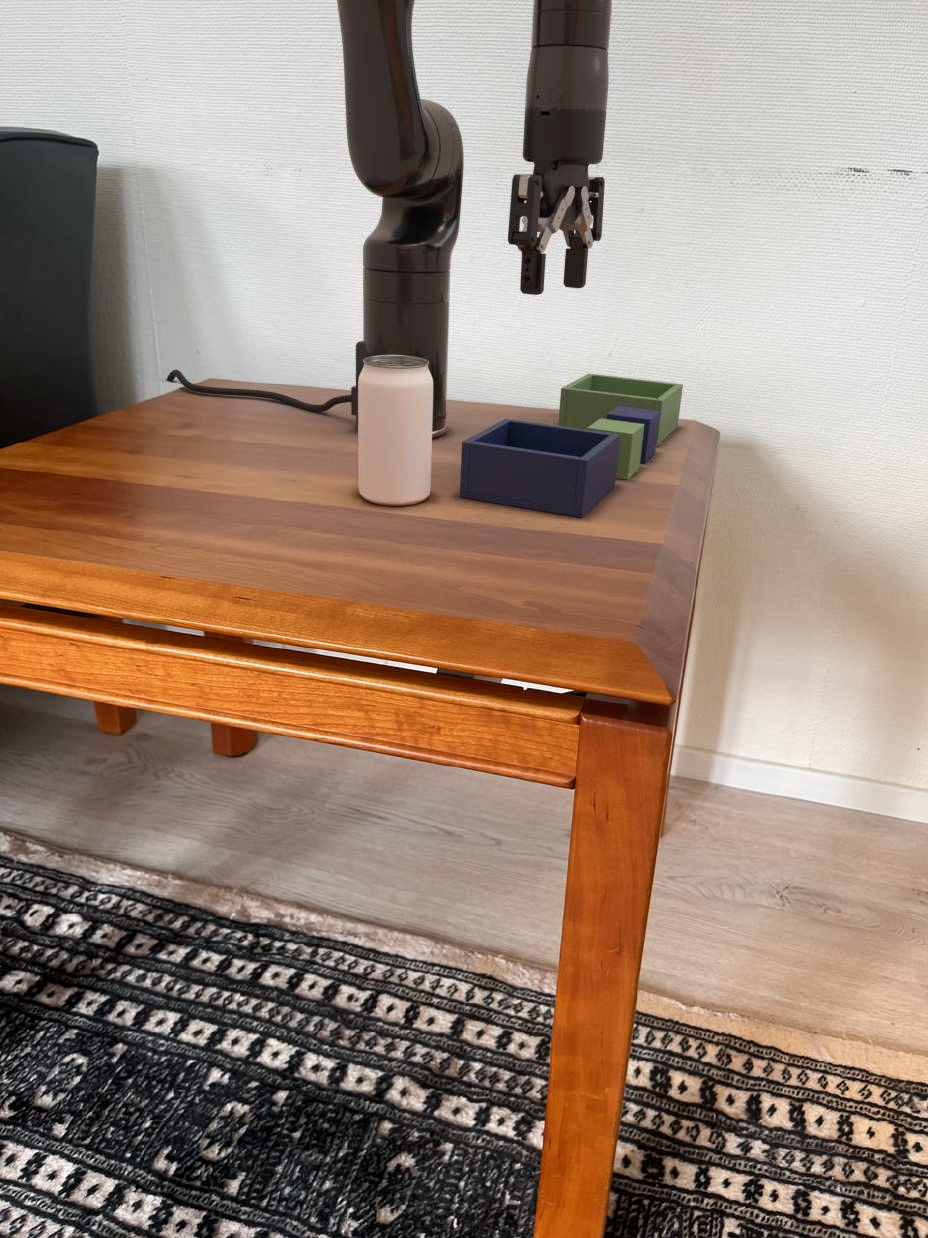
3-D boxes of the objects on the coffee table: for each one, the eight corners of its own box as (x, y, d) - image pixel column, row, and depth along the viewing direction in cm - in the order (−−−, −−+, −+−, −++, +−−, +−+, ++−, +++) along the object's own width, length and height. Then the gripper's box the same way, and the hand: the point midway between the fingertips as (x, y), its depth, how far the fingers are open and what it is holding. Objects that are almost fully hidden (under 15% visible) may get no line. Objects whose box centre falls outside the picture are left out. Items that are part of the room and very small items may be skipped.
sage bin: (557, 432, 113) (560, 387, 111) (584, 414, 122) (588, 373, 120) (657, 446, 109) (662, 400, 107) (677, 427, 118) (683, 384, 116)
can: (420, 510, 85) (424, 369, 80) (349, 502, 86) (348, 364, 82) (437, 489, 91) (441, 357, 86) (370, 482, 92) (370, 351, 87)
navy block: (602, 456, 104) (606, 413, 102) (614, 447, 108) (618, 405, 106) (645, 463, 102) (650, 419, 100) (655, 453, 106) (660, 410, 104)
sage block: (582, 473, 98) (586, 427, 96) (595, 462, 102) (600, 418, 100) (627, 479, 96) (632, 433, 95) (639, 468, 100) (644, 423, 98)
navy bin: (459, 497, 89) (461, 441, 87) (502, 469, 98) (504, 418, 96) (582, 517, 85) (587, 460, 83) (614, 486, 94) (620, 434, 92)
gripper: (567, 111, 98) (555, 282, 105) (489, 100, 87) (482, 292, 94) (636, 111, 94) (619, 289, 101) (564, 100, 84) (550, 300, 90)
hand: (553, 290), depth 98 cm, fingers open, 8 cm apart
